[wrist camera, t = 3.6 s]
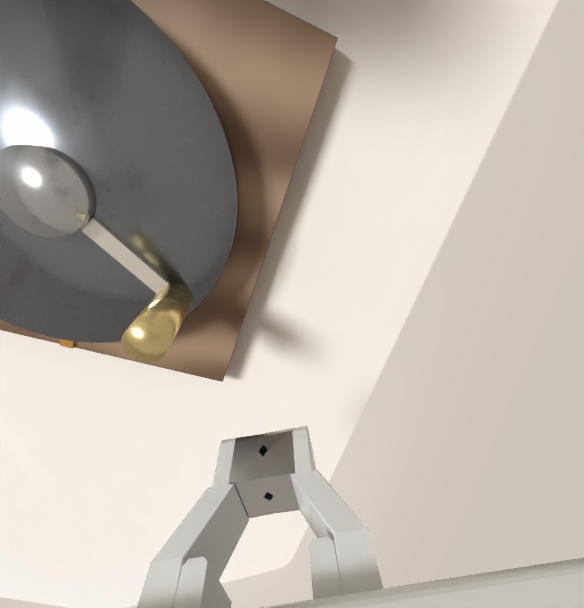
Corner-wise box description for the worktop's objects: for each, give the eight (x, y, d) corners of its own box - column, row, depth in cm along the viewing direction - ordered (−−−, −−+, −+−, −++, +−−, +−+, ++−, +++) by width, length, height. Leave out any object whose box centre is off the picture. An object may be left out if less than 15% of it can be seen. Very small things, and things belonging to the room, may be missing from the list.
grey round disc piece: (-195, 165, 18) (-489, 174, 11) (-15, -196, 13) (-371, -625, 6) (114, 372, 27) (56, 451, 20) (304, 207, 21) (319, 235, 14)
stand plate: (-223, -233, 13) (-287, -283, 12) (333, 46, 19) (338, 36, 17) (-102, 292, 24) (-127, 302, 23) (224, 371, 30) (222, 383, 28)
